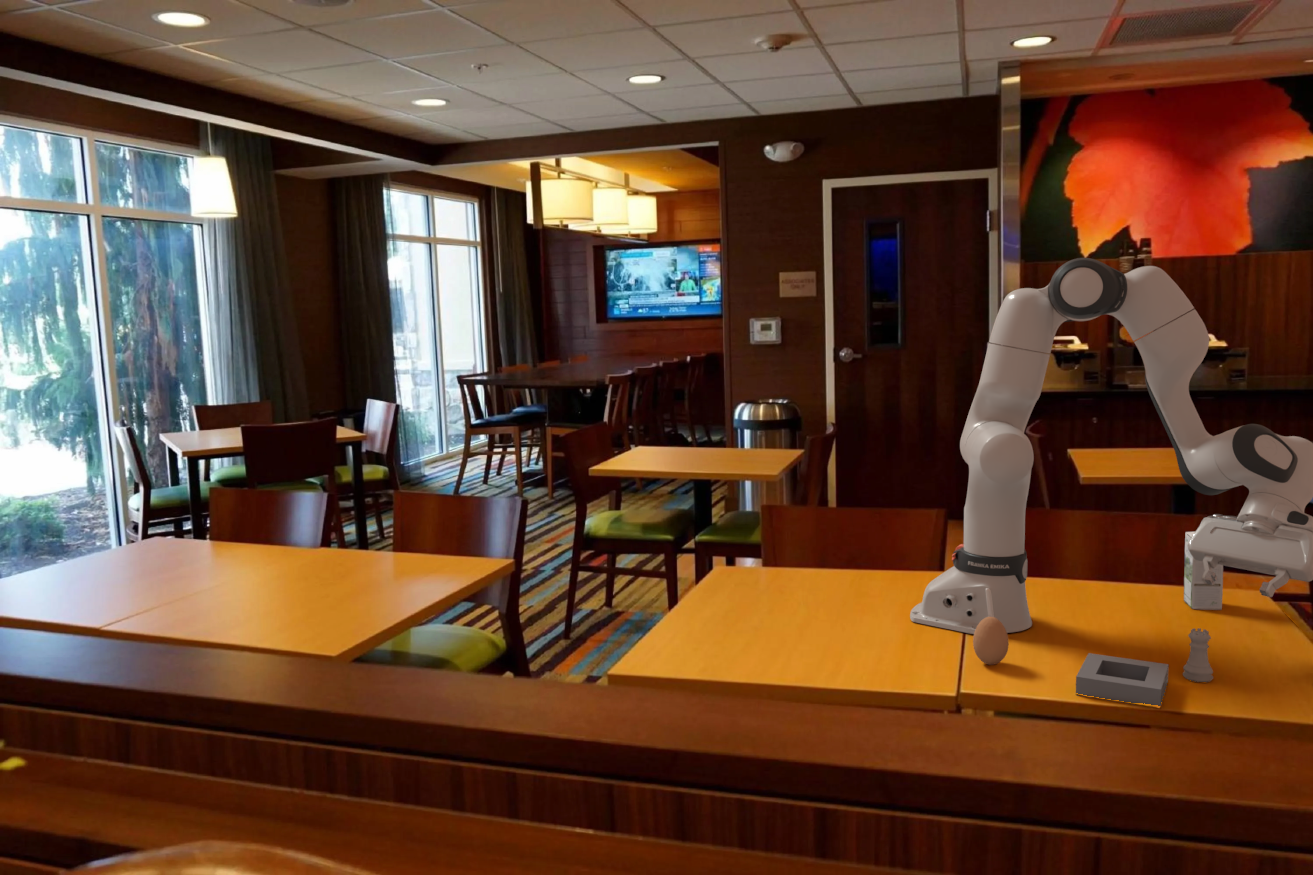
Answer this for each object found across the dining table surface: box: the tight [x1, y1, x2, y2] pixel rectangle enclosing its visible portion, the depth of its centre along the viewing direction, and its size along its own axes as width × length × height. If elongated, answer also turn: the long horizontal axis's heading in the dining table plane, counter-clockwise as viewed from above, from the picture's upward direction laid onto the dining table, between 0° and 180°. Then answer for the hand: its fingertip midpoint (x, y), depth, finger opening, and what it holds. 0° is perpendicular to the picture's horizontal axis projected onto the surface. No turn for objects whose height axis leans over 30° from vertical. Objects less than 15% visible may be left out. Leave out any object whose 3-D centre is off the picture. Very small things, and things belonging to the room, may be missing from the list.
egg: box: [972, 617, 1009, 666], centre depth 177 cm, size 6×6×8 cm
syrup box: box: [1183, 530, 1224, 611], centre depth 205 cm, size 6×6×14 cm
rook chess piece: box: [1182, 628, 1214, 683], centre depth 168 cm, size 4×4×8 cm
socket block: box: [1075, 652, 1169, 707], centre depth 165 cm, size 12×12×3 cm
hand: (1235, 588), depth 172 cm, fingers open, 8 cm apart
